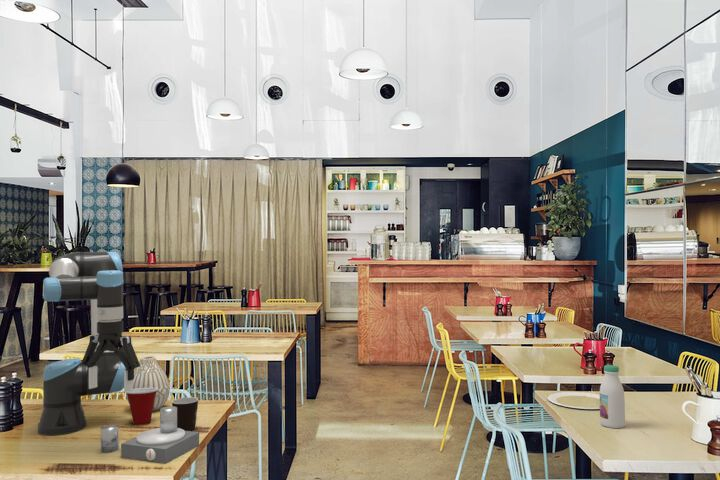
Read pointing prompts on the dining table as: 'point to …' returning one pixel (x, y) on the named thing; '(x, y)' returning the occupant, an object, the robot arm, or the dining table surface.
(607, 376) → the milk bottle
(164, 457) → the scale
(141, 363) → the vase
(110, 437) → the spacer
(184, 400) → the coffee mug
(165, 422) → the cylinder
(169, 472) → the dining table surface
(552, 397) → the plate
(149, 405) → the plastic cup
